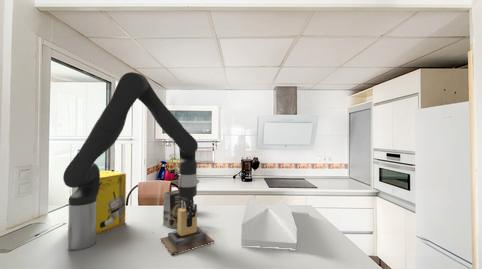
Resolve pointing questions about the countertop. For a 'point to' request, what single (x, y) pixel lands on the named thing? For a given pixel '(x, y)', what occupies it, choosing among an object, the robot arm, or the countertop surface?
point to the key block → (185, 223)
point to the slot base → (185, 241)
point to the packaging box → (110, 200)
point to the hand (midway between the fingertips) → (187, 224)
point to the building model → (268, 225)
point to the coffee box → (171, 208)
